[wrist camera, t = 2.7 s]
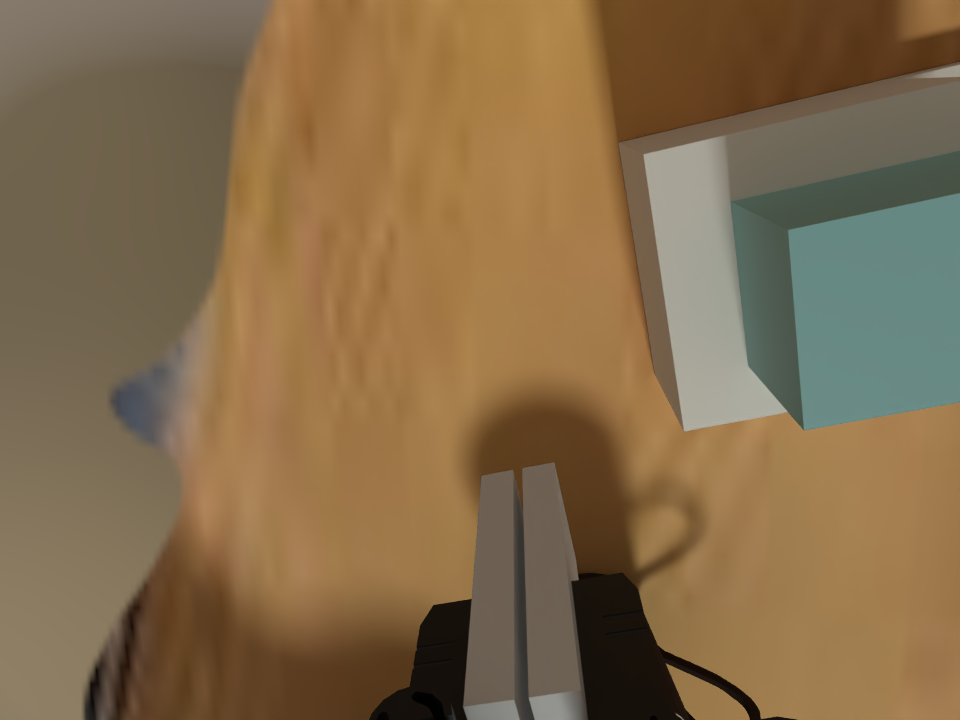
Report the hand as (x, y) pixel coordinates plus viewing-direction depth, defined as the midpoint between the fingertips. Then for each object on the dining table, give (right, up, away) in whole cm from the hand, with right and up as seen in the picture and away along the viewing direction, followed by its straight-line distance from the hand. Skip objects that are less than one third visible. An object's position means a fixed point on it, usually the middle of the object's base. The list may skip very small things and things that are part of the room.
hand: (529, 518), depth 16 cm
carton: (+14, +8, +11) cm, 20 cm away
